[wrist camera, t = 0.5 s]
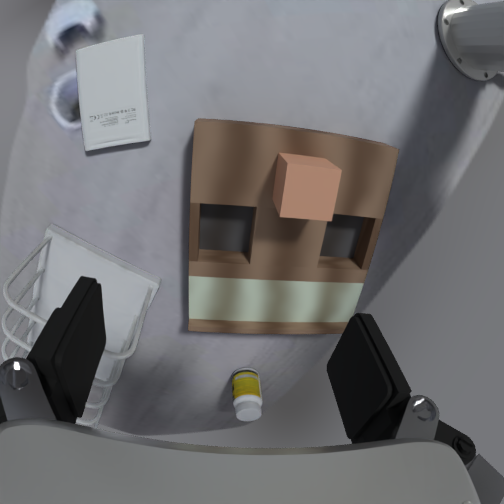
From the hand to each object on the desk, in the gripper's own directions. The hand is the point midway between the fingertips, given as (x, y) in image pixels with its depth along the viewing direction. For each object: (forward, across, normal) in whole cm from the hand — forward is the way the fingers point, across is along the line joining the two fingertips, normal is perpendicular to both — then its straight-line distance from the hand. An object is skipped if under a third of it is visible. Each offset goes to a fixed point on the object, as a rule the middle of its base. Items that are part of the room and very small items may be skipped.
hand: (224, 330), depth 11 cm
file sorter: (+27, +18, +25) cm, 41 cm away
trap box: (+27, -8, +6) cm, 29 cm away
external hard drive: (+28, +14, -6) cm, 32 cm away
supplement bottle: (+27, -9, +34) cm, 45 cm away
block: (+23, -8, -1) cm, 24 cm away
